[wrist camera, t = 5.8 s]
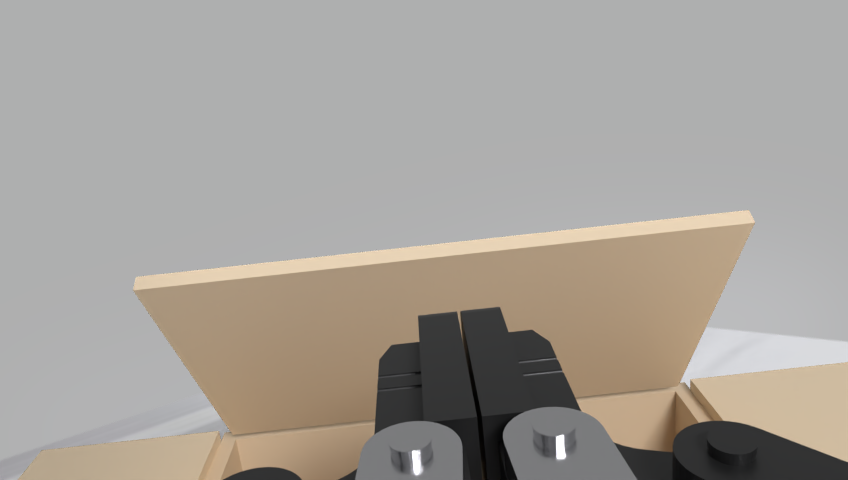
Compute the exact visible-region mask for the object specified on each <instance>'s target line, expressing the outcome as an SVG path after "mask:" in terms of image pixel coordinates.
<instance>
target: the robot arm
mask: <svg viewBox="0 0 848 480" xmlns="http://www.w3.org/2000/svg"><path fill="white" fill-rule="evenodd" d="M460 318H461V329H460V324H459V319H458V314H457V311H456V312H446V313H437V314H427V315H418V327H419V342H413V343H404V344H394V345H391V346H390V347H389V348H388V350H387V351H386V352H385V353H384V355H383V356H382V357H381V358H380V359H379V369H378V385H377V400H376V416H375V432H374V435H373V436H372V437H371V438H370V439H369V440H368V441H367V442H366V443H365V445H364V446H363V448H362V451H361V454H360V459H359V463H358V468H357V469H356V470H354V471H353V472H351V473H350V474H348V475H346V476H344V477H342V478H340V479H338V480H848V462H846V461H843V460H841V459H838V458H835V457H833V456H830V455H828V454H825V453H822V452H820V451H817V450H815V449H812V448H809V447H807V446H804V445H801V444H799V443H796V442H794V441H791V440H788V439H786V438H783V437H780V436H778V435H775V434H773V433H770V432H767V431H765V430H762V429H759V428H757V427H754V426H751V425H747V424H743V423H738V422H731V421H706V422H700V423H696V424H693V425H690V426H688V427H686V428H684V429H683V430H681V431H680V432H679V433H678V434H677V435H676V437H675V439H674V441H673V452H665V451H655V450H645V449H637V448H631V447H627V446H623V445H620V444H617V443H614V442H613V441H612V439H611V438H610V436H609V434H608V433H607V431H606V430H605V428H604V427H603V425H602V424H601V423H600V422H599V421H598V420H597V419H595V418H594V417H592V416H591V415H589V414H586V413H584V412H582V411H581V409H580V407H579V405H578V403H577V401H576V398H575V396H574V394H573V392H572V390H571V387H570V385H569V383H568V381H567V379H566V376H565V374H564V373H563V371H562V368H561V365H560V363H559V361H558V360H557V357H556V354H555V352H554V350H553V348H552V346H551V343H550V341H548V340H547V339H545V338H544V337H542V336H541V335H539V334H538V333H536V332H535V331H533V330H525V331H515V332H508V329H507V326H506V323H505V320H504V317H503V314H502V311H501V308H500V307H492V308H483V309H473V310H464V311H460ZM461 330H462V335H461ZM223 480H302V479H301V478H300V477H299V476H298V475H297V474H295V473H293V472H292V471H290V470H287V469H283V468H278V467H260V468H254V469H249V470H245V471H242V472H239V473H236V474H233V475H231V476H229V477H227V478H225V479H223Z"/></svg>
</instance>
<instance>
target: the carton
mask: <svg viewBox="0 0 848 480" xmlns="http://www.w3.org/2000/svg"><path fill="white" fill-rule="evenodd" d="M575 398H576V401H577V403H578V405H579V407H580V409H581V411H582V412H584V413H586V414H589V415H591V416H592V417H594V418H595V419H597V420H598V421H599V422H600V423H601V424H602V425H603V427H604V428H605V430H606V431H607V433H608V434H609V436H610V438H611V439H612V441H613V442H614V443H617V444H620V445H623V446H627V447H631V448H637V449H645V450H655V451H665V452H673V441H674V439H675V437H676V435H677V434H678V433H679V432H680V431H681V430H683V429H684V428H686V427H688V426H690V425H693V424H696V423H700V422H706V421H731V422H738V423H743V424H747V425H751V426H754V427H757V428H759V429H762V430H765V431H767V432H770V433H773V434H775V435H778V436H780V437H783V438H786V439H788V440H791V441H794V442H796V443H799V444H801V445H804V446H807V447H809V448H812V449H815V450H817V451H820V452H822V453H825V454H828V455H830V456H833V457H835V458H838V459H841V460H843V461H846V462H848V362H845V363H836V364H827V365H818V366H808V367H799V368H790V369H781V370H772V371H763V372H754V373H744V374H735V375H726V376H717V377H708V378H699V379H691V381H690V389H689V387H688V386H687V385H686V384H685V382H684V383H679V385H678V386H675V387H666V388H657V389H648V390H639V391H629V392H620V393H611V394H602V395H593V396H584V397H575ZM374 432H375V419H373V420H364V421H355V422H346V423H337V424H328V425H318V426H309V427H300V428H291V429H282V430H273V431H264V432H254V433H245V434H236V435H233V434H232V433H231V432H226V433H224V436H223V438H222V440H221V438H220V434H219V431H214V432H205V433H196V434H186V435H177V436H168V437H159V438H150V439H141V440H132V441H122V442H113V443H104V444H95V445H86V446H77V447H68V448H58V449H49V450H42V451H41V452H40V453H39V454H38V456H37V457H36V458H35V459H34V460H33V462H32V463H31V464H30V465H29V466H28V468H27V469H26V470H25V471H24V473H23V474H22V475H21V476H20V477H19V479H18V480H223V479H225V478H227V477H229V476H231V475H233V474H236V473H239V472H242V471H245V470H249V469H254V468H260V467H278V468H283V469H287V470H290V471H292V472H293V473H295V474H297V475H298V476H299V477H300V478H301V479H302V480H338V479H340V478H342V477H344V476H346V475H348V474H350V473H351V472H353V471H354V470H356V469H357V468H358V463H359V459H360V454H361V451H362V448H363V446H364V445H365V443H366V442H367V441H368V440H369V439H370V438H371V437H372V436H373V435H374Z"/></svg>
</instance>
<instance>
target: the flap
mask: <svg viewBox="0 0 848 480" xmlns="http://www.w3.org/2000/svg"><path fill="white" fill-rule="evenodd" d="M754 224H755V222H754V219H753V217H752V215H751V214H750V212H749V210H747V211H736V212H727V213H718V214H709V215H700V216H691V217H681V218H673V219H663V220H654V221H645V222H636V223H626V224H617V225H608V226H599V227H590V228H581V229H571V230H562V231H553V232H544V233H535V234H525V235H517V236H507V237H498V238H489V239H479V240H470V241H461V242H452V243H444V244H435V245H425V246H416V247H407V248H397V249H388V250H378V251H370V252H360V253H351V254H342V255H333V256H324V257H314V258H305V259H297V260H287V261H278V262H268V263H259V264H250V265H241V266H232V267H223V268H213V269H205V270H195V271H186V272H177V273H168V274H159V275H149V276H140V277H136V279H135V284H134V288H133V291H134V292H135V294H136V295H137V297H138V298H139V300H140V301H141V303H142V304H143V305H144V307H145V308H146V310H147V311H148V313H149V314H150V316H151V317H152V319H153V320H154V321H155V323H156V324H157V326H158V327H159V329H160V330H161V331H162V333H163V334H164V336H165V337H166V339H167V340H168V342H169V343H170V344H171V346H172V347H173V349H174V350H175V352H176V353H177V355H178V356H179V358H180V359H181V360H182V362H183V363H184V365H185V366H186V368H187V369H188V370H189V372H190V374H191V375H192V376H193V378H194V379H195V381H196V382H197V384H198V385H199V386H200V388H201V389H202V391H203V392H204V394H205V395H206V397H207V398H208V400H209V401H210V402H211V404H212V405H213V407H214V408H215V410H216V411H217V413H218V414H219V415H220V417H221V418H222V420H223V421H224V423H225V424H226V426H227V427H228V429H229V430H230V431H231V433H232V434H233V435H236V434H245V433H254V432H264V431H273V430H282V429H291V428H300V427H309V426H318V425H328V424H337V423H346V422H355V421H364V420H373V419H375V416H376V400H377V385H378V369H379V359H380V358H381V357H382V356H383V355H384V353H385V352H386V351H387V350H388V348H389V347H390V346H391V345H394V344H404V343H413V342H419V327H418V315H427V314H437V313H446V312H456V311H457V314H458V319H459V324H460V329H461V318H460V311H464V310H473V309H483V308H492V307H500V308H501V311H502V314H503V317H504V320H505V323H506V326H507V329H508V332H515V331H525V330H533V331H535V332H536V333H538V334H539V335H541V336H542V337H544V338H545V339H547V340H548V341H550V343H551V346H552V348H553V350H554V352H555V354H556V357H557V360H558V361H559V363H560V365H561V368H562V371H563V373H564V374H565V376H566V379H567V381H568V383H569V385H570V387H571V390H572V392H573V394H574V396H575V397H584V396H593V395H602V394H611V393H620V392H629V391H639V390H648V389H657V388H666V387H675V386H678V385H679V383H680V381H681V379H682V377H683V374H684V372H685V370H686V368H687V366H688V364H689V362H690V360H691V357H692V355H693V353H694V351H695V349H696V347H697V345H698V343H699V340H700V338H701V336H702V334H703V332H704V330H705V328H706V326H707V324H708V321H709V319H710V317H711V315H712V313H713V311H714V309H715V307H716V304H717V302H718V300H719V298H720V296H721V294H722V292H723V290H724V287H725V285H726V283H727V281H728V279H729V277H730V275H731V273H732V271H733V268H734V266H735V264H736V262H737V260H738V258H739V256H740V253H741V251H742V249H743V247H744V245H745V243H746V241H747V239H748V237H749V235H750V232H751V230H752V228H753V226H754ZM461 335H462V330H461Z"/></svg>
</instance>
